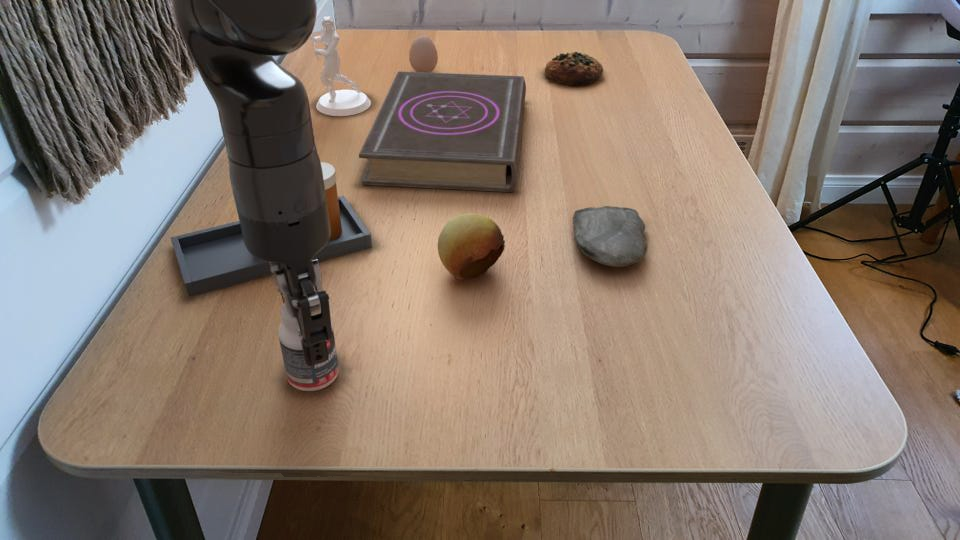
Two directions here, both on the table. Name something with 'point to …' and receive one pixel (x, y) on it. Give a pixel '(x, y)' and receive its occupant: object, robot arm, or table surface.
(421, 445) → the table surface
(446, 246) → the fruit
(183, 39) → the robot arm
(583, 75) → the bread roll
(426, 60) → the egg
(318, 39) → the figurine
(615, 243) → the stone
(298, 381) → the pill bottle
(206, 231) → the tray
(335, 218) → the amber bottle far
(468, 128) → the book
